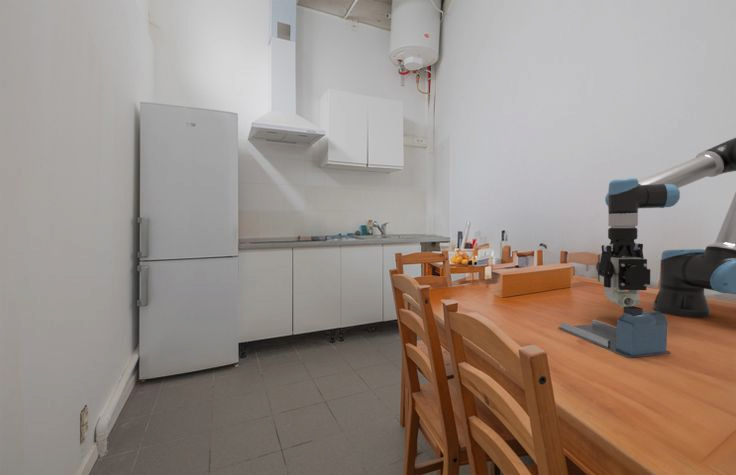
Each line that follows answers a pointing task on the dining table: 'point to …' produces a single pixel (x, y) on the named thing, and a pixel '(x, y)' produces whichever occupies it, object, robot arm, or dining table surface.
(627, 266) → the ball valve
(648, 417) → the dining table surface
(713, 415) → the dining table surface
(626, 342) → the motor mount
